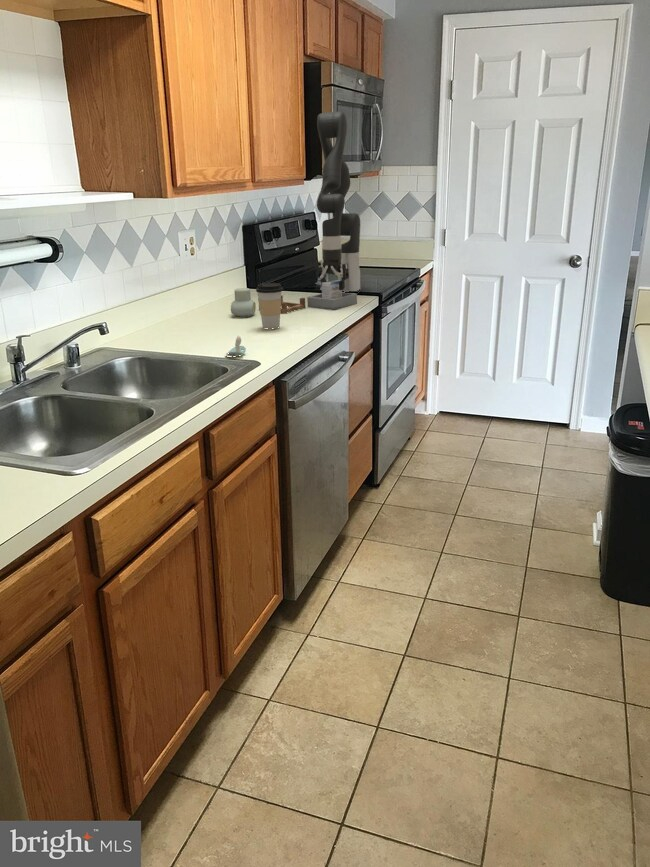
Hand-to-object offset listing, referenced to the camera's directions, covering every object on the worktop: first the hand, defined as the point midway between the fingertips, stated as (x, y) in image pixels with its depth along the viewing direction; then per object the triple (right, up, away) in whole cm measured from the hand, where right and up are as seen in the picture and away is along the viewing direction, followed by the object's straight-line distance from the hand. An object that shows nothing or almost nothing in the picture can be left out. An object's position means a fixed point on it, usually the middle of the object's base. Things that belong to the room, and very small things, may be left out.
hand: (332, 289), depth 285 cm
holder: (-20, -9, -3) cm, 22 cm away
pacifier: (-30, -34, -69) cm, 83 cm away
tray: (0, -6, +2) cm, 6 cm away
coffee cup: (-22, -21, -34) cm, 46 cm away
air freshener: (-34, -13, -13) cm, 39 cm away
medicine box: (0, -5, +2) cm, 6 cm away
